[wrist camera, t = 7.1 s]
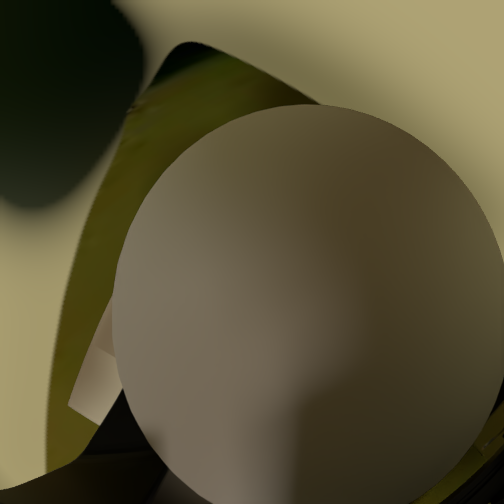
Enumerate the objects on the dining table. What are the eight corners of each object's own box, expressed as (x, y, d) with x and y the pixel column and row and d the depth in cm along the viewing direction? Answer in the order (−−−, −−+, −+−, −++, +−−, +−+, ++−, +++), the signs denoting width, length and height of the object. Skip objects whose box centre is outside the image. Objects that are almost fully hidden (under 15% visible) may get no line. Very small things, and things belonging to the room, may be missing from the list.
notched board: (357, 329, 18) (377, 327, 15) (293, 481, 14) (305, 497, 12) (155, 241, 18) (147, 226, 15) (84, 398, 14) (67, 405, 12)
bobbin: (313, 306, 16) (518, 209, 4) (274, 406, 14) (446, 533, 2) (214, 264, 16) (238, 46, 4) (169, 364, 14) (17, 433, 2)
